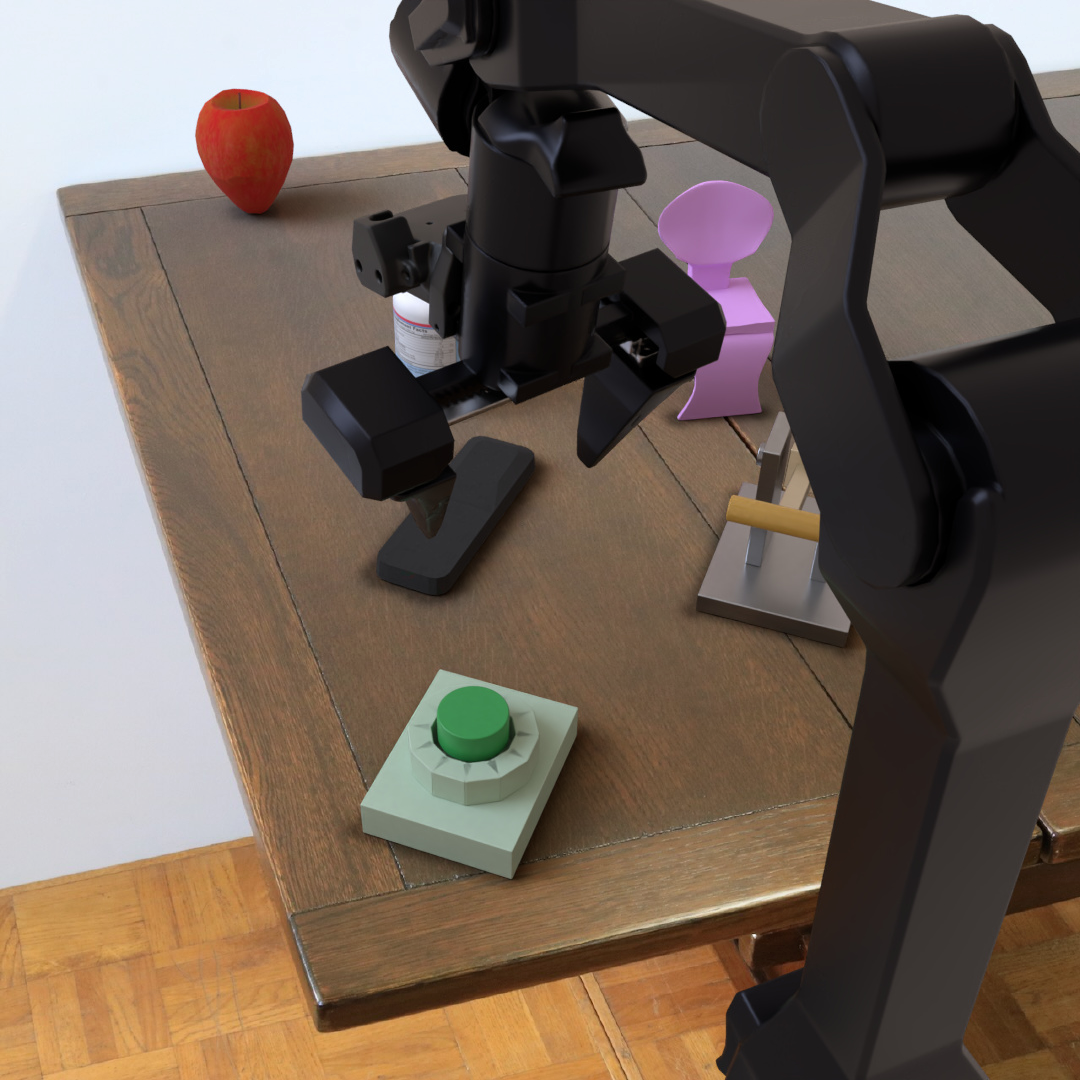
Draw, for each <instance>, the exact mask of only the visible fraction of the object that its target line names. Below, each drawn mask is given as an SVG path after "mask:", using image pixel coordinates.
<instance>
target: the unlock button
mask: <svg viewBox="0 0 1080 1080" xmlns="http://www.w3.org/2000/svg"><path fill="white" fill-rule="evenodd" d="M437 733H438V741H439V744H440V746H441V747H442V749H443V750H444V751H445V752H446V753H447V754H448V755H450V756H451V757H453V758H455V759H458V760H461V761H466V762H479V761H484V760H488V759H490V758H492V757H494V756H496V755H497V754H499V753H500V752H501V751H502V750H503V749H504V748H505V746H506V744H507V742H508V739H509V707H508V704H507V702H506V701H505V699H504V698H503V697H502V696H501V695H500V694H499V693H497V692H496V691H494V690H492V689H489V688H486V687H481V686H466V687H461V688H458V689H456V690H453V691H451V692H450V693H448V694H447V695H446V696H445V697H444V698H443V699H442V700H441V702H440V703H439V706H438V709H437Z"/></svg>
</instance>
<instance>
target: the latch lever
mask: <svg viewBox="0 0 1080 1080" xmlns="http://www.w3.org/2000/svg"><path fill="white" fill-rule="evenodd" d="M782 488H785V489H784V491H785V492H784V494H783V496H782V498H781V501H780V503H779V505H776V504H772V503H768V502H763V501H759V500H755V499H750V498H746V497H742V496H737V495H738V494H732V495H731V496H730V498H729V501H728V505H727V508H726V509H727V510H726V514H725V520H726V522H727V521H730V522H734V523H738V524H743V525H747V526H751V527H755V528H760V529H764V530H768V531H772V532H776V533H781V534H785V535H789V536H793V537H798V538H802V539H806V540H810V541H815V542H819V525H820V514H815V513H811V512H807V511H802V508H803V505H804V503H805V501H806V498H807V496H809V494H813V491H812V488H811V485H810V483H809V480H808V477H807V474H806V471H805V468H804V466H803V463H802V460H801V457H800V454H799V452H798V449H797V446H796V443H795V441H794V442H793V444H792V445H791V448H790V449H789V454H788V459H787V464H786V469H785V475H784V480H783V486H782ZM813 495H814V494H813Z"/></svg>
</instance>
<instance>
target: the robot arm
mask: <svg viewBox="0 0 1080 1080" xmlns="http://www.w3.org/2000/svg"><path fill="white" fill-rule="evenodd" d="M388 38H389V39H388V40H389V45H390V46H389V47H390V52H391V54H392V56H393V59H394V61H395V64H396V66H397V67H398V69H399V70H400V72H401V73H402V75H403V77H404V78H405V81H406V82H407V84H408V85H409V87H410V89H411V90H412V92H413V94H414V95H415V97H416V98H417V100H418V102H419V104H420V106H421V107H422V109H423V111H424V112H425V114H426V115H427V117H428V119H429V120H430V122H431V123H432V125H433V127H434V129H435V130H436V132H437V134H438V136H439V138H441V140H442V142H443V143H444V145H445V146H446V148H447V149H448V150H449V151H450V152H452V153H457V154H459V155H461V156H463V157H466V158H469V160H468V161H469V162H468V174H467V175H468V177H467V193H464V194H463V193H462V194H455V195H451V196H447V197H445V198H441V199H438V200H435V201H432V202H429V203H426V204H422V205H419V206H416V207H412V208H410V209H407V210H406V209H405V210H403V211H400V212H397V213H393V211H392V210H390V209H387V208H386V209H382V210H379V211H376V212H372V213H370V214H366V215H363V216H360V217H357V218H354V219H353V224H352V237H351V254H352V259H353V265H354V269H355V274H356V276H357V277H356V278H358V281H359V282H360V284H361V285H362V286H363V287H365V288H366V289H368V290H370V291H372V292H373V293H375V294H377V295H379V296H381V298H382V297H383V298H384V299H386V298H390V297H393V295H396V294H399V293H406V292H408V293H410V294H412V295H413V296H415V297H417V298H419V299H421V300H423V301H425V302H426V303H428V304H429V324H430V325H431V327H432V328H433V329H434V330H435V331H436V332H437V333H438V334H439V335H440V337H441V338H442V339H446V338H449V337H451V336H453V337H454V338H455V339H456V340H457V341H458V354H459V358H460V360H461V361H458V362H456V363H453V364H450V365H448V366H445V367H442V368H440V369H437V370H434V371H432V372H429V373H427V374H424V375H421V376H419V377H415V376H414V375H413V374H412V373H411V372H410V371H409V369H408V368H407V367H406V366H405V365H404V364H403V362H402V361H401V360H400V359H399V358H398V357H397V355H396V352H394V350H393V349H392V348H391V347H390V346H389V345H385V346H382V347H380V348H376V349H374V350H371V351H368V352H366V353H363V354H361V355H357V356H354V357H352V358H349V359H346V360H344V361H340V362H338V363H335V364H333V365H329V366H327V367H324V368H321V369H318V370H316V371H313V372H310V373H307V374H306V375H305V377H304V381H303V384H302V386H301V389H300V399H301V400H300V401H301V415H302V416H301V417H302V421H303V422H304V424H305V425H306V426H307V427H308V429H309V430H310V432H311V433H312V434H313V435H314V436H315V438H316V439H317V441H318V442H319V443H320V445H321V446H322V447H323V449H325V451H326V452H327V453H328V455H329V456H330V458H331V459H332V460H333V462H334V463H335V464H336V465H337V467H338V468H339V470H340V471H341V473H343V474H344V476H345V477H346V478H347V479H348V481H349V482H350V483H351V485H352V486H353V487H354V489H355V490H356V491H357V493H358V494H359V495H360V497H361V498H362V499H366V500H371V501H372V500H373V501H377V502H384V501H386V500H389V499H390V500H391V501H394V502H397V503H403V502H404V503H405V504H406V506H407V508H408V510H409V513H410V512H411V514H412V516H413V518H414V520H415V522H416V524H417V526H418V528H419V529H420V530H421V531H422V533H423V534H424V535H425V536H426V538H427V539H431V538H433V537H435V536H436V534H437V533H438V531H439V529H440V527H441V525H442V523H443V519H444V516H445V513H446V510H447V506H448V503H449V500H450V496H451V494H452V490H453V487H454V484H455V481H456V477H457V474H456V473H455V471H454V470H453V469H452V468H451V467H450V465H449V464H450V463H451V461H452V460H453V459H454V457H455V456H454V455H455V453H454V452H455V441H456V440H455V438H454V435H453V432H452V429H451V426H455V425H457V424H459V423H461V422H464V421H466V420H468V419H469V420H470V419H471V418H475V417H476V416H479V415H482V414H484V413H486V412H489V411H492V410H493V409H496V408H500V407H501V406H503V405H506V404H509V403H512V404H514V406H517V405H520V404H522V403H525V402H527V401H530V400H531V399H534V398H537V397H540V396H542V395H545V394H547V393H549V392H551V391H554V390H557V389H559V388H561V387H564V386H566V385H569V384H572V383H575V382H577V381H579V380H582V379H583V386H582V392H581V400H580V406H579V407H580V408H579V413H578V422H577V429H576V456H577V458H578V460H579V461H580V462H581V463H582V464H583V466H585V467H586V468H587V469H591V468H595V467H596V466H598V464H599V463H601V461H602V460H603V459H604V458H605V457H606V456H607V455H608V454H609V453H610V452H611V451H612V450H613V449H615V447H616V446H618V445H619V444H620V443H621V442H622V440H623V439H625V438H626V436H628V435H629V434H630V433H631V432H632V431H633V430H634V429H635V428H636V427H637V426H638V425H639V424H641V422H643V420H644V419H646V417H648V416H649V415H650V414H651V413H652V412H654V410H655V409H656V408H658V407H659V406H660V405H661V404H662V403H663V402H664V401H665V400H667V399H668V398H670V396H671V395H672V394H674V393H675V392H676V391H677V390H678V389H679V388H680V387H682V386H683V385H684V384H686V383H688V382H691V381H692V380H694V379H695V377H694V376H695V375H696V372H697V369H699V368H701V367H703V366H706V365H708V364H710V363H713V362H715V361H718V359H719V355H720V351H721V348H722V344H723V340H724V336H725V332H726V326H727V321H726V318H725V315H724V312H723V309H722V306H721V304H720V303H719V302H717V301H716V300H715V299H714V298H713V297H712V296H711V295H710V294H709V293H708V292H706V291H705V290H704V289H703V288H702V287H701V286H700V285H699V284H698V283H697V282H695V281H694V280H693V279H692V278H691V277H690V276H689V275H688V272H686V271H685V270H683V269H682V268H681V267H680V266H679V265H678V264H677V263H676V262H674V260H672V259H671V257H669V256H668V255H667V254H666V253H665V252H663V251H662V250H661V249H660V248H659V247H655V248H653V249H650V250H647V251H644V252H641V253H638V254H635V255H633V256H630V257H628V258H625V259H622V260H619V261H617V260H616V259H615V258H614V256H612V255H611V254H610V253H609V249H610V244H611V238H612V237H611V236H612V232H613V231H612V230H613V225H614V219H615V212H616V206H617V200H618V194H619V190H622V189H627V188H634V187H639V186H643V185H644V184H645V183H646V182H647V179H648V169H647V166H646V163H645V159H644V154H643V152H642V150H641V148H640V146H639V145H638V144H637V142H636V141H635V140H634V138H633V137H632V135H631V134H630V133H629V122H628V120H627V119H626V117H625V116H624V115H623V113H622V112H621V110H620V109H619V107H617V105H616V104H615V102H614V101H613V100H612V99H611V98H613V99H615V100H617V101H619V102H621V103H623V104H625V105H627V106H628V107H631V108H633V109H635V110H636V111H639V112H641V113H642V114H645V115H646V116H648V117H650V118H652V119H654V120H656V121H658V122H660V123H662V124H664V125H665V126H668V127H670V128H672V129H674V130H676V131H677V132H679V133H681V134H683V135H685V136H687V137H689V138H691V139H693V140H695V141H697V142H699V143H701V144H703V145H705V146H707V147H709V148H711V149H713V150H715V151H716V152H719V153H721V154H722V155H724V156H726V157H729V158H730V159H732V160H734V161H736V162H738V163H739V164H741V165H744V166H746V167H748V168H749V169H751V170H753V171H755V172H757V173H759V174H761V175H763V176H765V177H767V178H769V179H770V182H771V185H772V188H773V190H774V193H775V196H776V199H777V202H778V204H779V207H780V209H781V212H782V215H783V218H784V221H785V223H786V227H787V229H788V232H789V234H790V239H791V243H790V249H789V254H788V255H789V256H788V259H787V260H788V261H787V265H786V272H785V278H784V284H783V290H782V295H781V301H780V307H779V313H778V320H777V325H776V330H775V335H774V342H773V346H772V353H771V359H770V365H771V367H770V368H771V375H772V377H771V378H772V381H773V383H774V384H773V385H774V387H775V389H776V392H777V395H778V397H779V398H778V399H779V400H780V404H781V407H782V409H783V412H785V415H786V418H787V421H788V423H789V426H790V429H791V432H792V437H793V440H794V442H795V443H796V446H797V449H798V452H799V454H800V457H801V460H802V463H803V466H804V468H805V471H806V474H807V477H808V480H809V483H810V485H811V488H812V491H813V496H814V497H813V498H815V499H816V502H817V505H818V508H819V511H820V525H819V551H818V566H819V570H820V572H821V574H822V576H823V578H824V579H825V581H826V583H827V584H828V586H829V587H830V589H831V591H832V592H833V594H834V596H835V597H836V599H837V601H838V602H839V604H840V605H841V607H842V609H843V610H844V612H845V614H846V615H847V617H848V618H849V620H850V622H851V626H853V629H854V630H855V632H856V634H857V635H858V637H859V638H860V639H861V641H862V643H863V645H864V647H865V663H864V672H863V676H862V680H861V686H860V691H859V695H858V700H857V705H856V709H855V714H854V715H855V716H854V720H853V724H852V730H851V735H850V740H849V744H848V749H847V754H846V759H845V762H844V763H845V764H844V767H843V768H844V769H843V774H842V779H841V783H840V787H839V793H838V798H837V803H836V808H835V814H834V818H833V823H832V827H831V832H830V838H829V842H828V843H829V844H828V847H827V852H826V857H825V862H824V867H823V872H822V877H821V881H820V885H819V886H820V887H819V891H818V897H817V901H816V906H815V911H814V914H813V915H814V916H813V920H812V924H811V925H812V926H811V931H810V935H809V940H808V945H807V950H806V954H805V960H804V964H803V966H802V967H800V968H797V969H795V970H791V971H790V972H787V973H783V974H782V975H778V976H776V977H775V978H771V979H769V980H766V981H763V982H761V983H758V984H755V985H753V986H750V987H747V988H745V989H743V990H740V991H737V992H736V993H735V994H734V996H733V998H732V999H731V1001H730V1003H729V1006H728V1007H727V1009H726V1012H725V1039H724V1046H723V1050H722V1053H721V1055H720V1056H718V1057H717V1058H716V1059H715V1065H716V1068H717V1069H718V1071H719V1072H720V1073H721V1074H722V1075H723V1076H725V1077H724V1080H991V1079H990V1077H989V1076H988V1075H987V1073H986V1072H985V1070H983V1068H982V1066H981V1065H980V1063H979V1062H978V1061H977V1060H976V1059H975V1057H974V1056H973V1054H972V1053H971V1052H970V1050H969V1049H968V1048H967V1046H966V1045H965V1044H964V1043H965V1042H964V1037H965V1033H966V1030H967V1028H968V1024H969V1023H970V1020H971V1016H972V1013H973V1010H974V1007H975V1004H976V1002H977V998H978V995H979V993H980V989H981V986H982V984H983V981H984V978H985V976H986V972H987V969H988V966H989V963H990V961H991V957H992V955H993V951H994V948H995V946H996V943H997V940H998V937H999V934H1000V932H1001V929H1002V925H1003V922H1004V919H1005V916H1006V914H1007V910H1008V907H1009V904H1010V902H1011V899H1012V896H1013V894H1014V890H1015V887H1016V884H1017V881H1018V878H1019V875H1020V872H1021V869H1022V866H1023V863H1024V860H1025V858H1026V854H1027V852H1028V848H1029V847H1030V843H1031V840H1032V837H1033V834H1034V832H1035V829H1036V825H1037V822H1038V820H1039V817H1040V814H1041V811H1042V808H1043V805H1044V802H1045V799H1046V796H1047V794H1048V790H1049V788H1050V785H1051V781H1052V779H1053V777H1054V776H1053V775H1054V774H1055V770H1056V767H1057V764H1058V761H1059V758H1060V755H1061V753H1062V749H1063V747H1064V743H1065V742H1066V741H1065V740H1066V738H1067V735H1068V732H1069V729H1070V726H1071V723H1072V720H1073V717H1074V715H1075V713H1076V711H1077V709H1078V708H1079V706H1080V151H1079V150H1078V149H1077V148H1076V147H1075V146H1074V145H1072V143H1070V141H1069V140H1068V139H1066V138H1065V137H1064V135H1063V134H1061V133H1060V131H1058V129H1057V128H1056V127H1055V125H1054V124H1053V121H1052V118H1051V116H1050V113H1049V110H1048V109H1047V106H1046V103H1045V101H1044V99H1043V97H1042V95H1041V91H1040V89H1039V86H1038V84H1037V82H1036V80H1035V77H1034V75H1033V72H1032V70H1031V67H1030V65H1029V63H1028V60H1027V58H1026V56H1025V54H1024V53H1023V50H1022V49H1021V48H1020V47H1019V45H1018V44H1017V42H1016V40H1015V39H1014V37H1013V35H1012V34H1010V33H1008V32H1006V31H1005V30H1003V29H1002V28H1001V27H999V26H997V25H995V24H994V23H983V22H981V21H980V20H977V19H976V18H974V17H972V16H971V15H969V14H960V13H954V14H948V15H947V14H946V15H941V16H928V15H925V14H921V13H918V12H914V11H911V10H908V9H903V8H900V7H897V6H893V5H889V4H885V3H883V2H879V1H875V0H401V1H400V2H399V4H398V6H397V8H396V11H395V13H394V16H393V19H392V20H391V21H390V23H389V31H388ZM942 200H944V202H945V205H946V207H947V209H948V211H949V212H950V213H951V215H952V217H953V218H954V219H955V221H956V222H957V223H958V224H959V225H960V226H961V227H962V228H963V229H964V230H965V231H966V232H967V233H968V234H969V235H970V236H971V238H973V239H974V240H975V241H976V242H977V243H978V244H979V245H980V246H982V248H983V249H985V251H987V252H988V254H989V255H990V256H991V257H992V258H993V259H995V260H996V261H997V262H998V263H999V264H1000V266H1002V267H1003V268H1004V269H1005V270H1006V271H1007V272H1008V273H1009V274H1010V275H1011V276H1012V277H1013V279H1015V280H1016V281H1017V282H1018V283H1019V284H1020V285H1021V286H1022V287H1023V288H1024V289H1025V290H1026V291H1027V292H1028V293H1029V294H1030V295H1032V296H1033V297H1034V298H1035V299H1036V300H1037V302H1039V303H1040V304H1041V305H1042V306H1043V307H1044V308H1045V309H1046V311H1048V312H1049V314H1050V315H1051V317H1052V319H1053V321H1054V323H1048V324H1045V325H1039V326H1035V327H1031V328H1030V327H1029V328H1026V329H1022V330H1016V331H1013V332H1008V333H1004V334H1000V335H995V336H990V337H986V338H982V339H981V338H980V339H977V340H973V341H968V342H963V343H959V344H955V345H950V346H946V347H945V346H944V347H940V348H937V349H932V350H926V351H921V352H919V353H914V354H910V355H905V356H901V357H900V356H899V357H896V358H891V359H887V357H886V354H885V352H884V348H883V346H882V343H881V340H880V338H879V336H878V333H877V329H876V327H875V325H874V322H873V320H872V317H871V314H870V311H869V309H868V296H869V291H870V290H869V289H870V283H871V276H872V270H873V265H874V264H873V263H874V257H875V251H876V250H875V249H876V244H877V243H876V242H877V236H878V230H879V225H880V224H879V223H880V217H881V211H886V210H892V209H897V208H904V207H909V206H915V205H919V204H925V203H931V202H936V201H942Z"/></svg>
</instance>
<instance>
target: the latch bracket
mask: <svg viewBox="0 0 1080 1080" xmlns="http://www.w3.org/2000/svg"><path fill="white" fill-rule="evenodd" d="M792 437H793V435H792V432H791V429H790V426H789V423H788V421H787V418H786V415H785V412H784V411H778V413H777V415H776V417H775V420H774V423H773V425H772V428H771V430H770V433H769V435H768V438H767V440H766V442H764V441H762V442H760V444H759V446H758V451H757V455H756V459H755V465H756V466H758V467H759V468H760V469H759V474H758V480H757V484H755V483H751V482H747V481H742V483H741V485H740V488H739V490H738V492H737V494H736V495H737V496H742V497H746V498H750V499H755V500H759V501H763V502H768V503H772V504H776V505H779V503H780V501H781V498H782V496H783V494H784V492H785V490H783V484H784V479H785V474H786V469H787V465H788V459H789V453H790V447H791V439H792ZM802 511H807V512H811V513H815V514H820V511H819V508H818V505H817V502H816V499H815V497H813V496H809V495H808V496H807V498H806V501H805V503H804V505H803V508H802ZM818 551H819V542H815V541H810V540H806V539H802V538H798V537H793V536H789V535H785V534H781V533H776V532H772V531H768V530H764V529H760V528H755V527H751V526H747V525H743V524H738V523H734V522H730V521H727V520H726V523H725V525H724V528H723V530H722V532H721V535H720V538H719V540H718V543H717V544H716V548H715V551H714V553H713V555H712V558H711V560H710V562H709V565H708V567H707V570H706V573H705V575H704V577H703V581H702V583H701V584H700V585H701V586H700V588H699V591H698V593H697V595H696V596H697V597H696V604H695V610H696V611H698V612H702V613H705V614H710V615H714V616H717V617H721V618H726V619H730V620H734V621H737V622H741V623H745V624H749V625H753V626H758V627H761V628H766V629H769V630H773V631H776V632H781V633H784V634H789V635H793V636H796V637H801V638H804V639H808V640H812V641H815V642H820V643H824V644H827V645H832V646H835V647H840V648H845V647H846V644H847V640H848V638H849V637H848V636H849V633H850V629H851V626H852V623H851V622H850V620H849V618H848V617H847V615H846V614H845V612H844V610H843V609H842V607H841V605H840V604H839V602H838V601H837V599H836V597H835V596H834V594H833V592H832V591H831V589H830V587H829V586H828V584H827V583H826V581H825V579H824V578H823V576H822V574H821V572H820V570H819V566H818Z"/></svg>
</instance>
